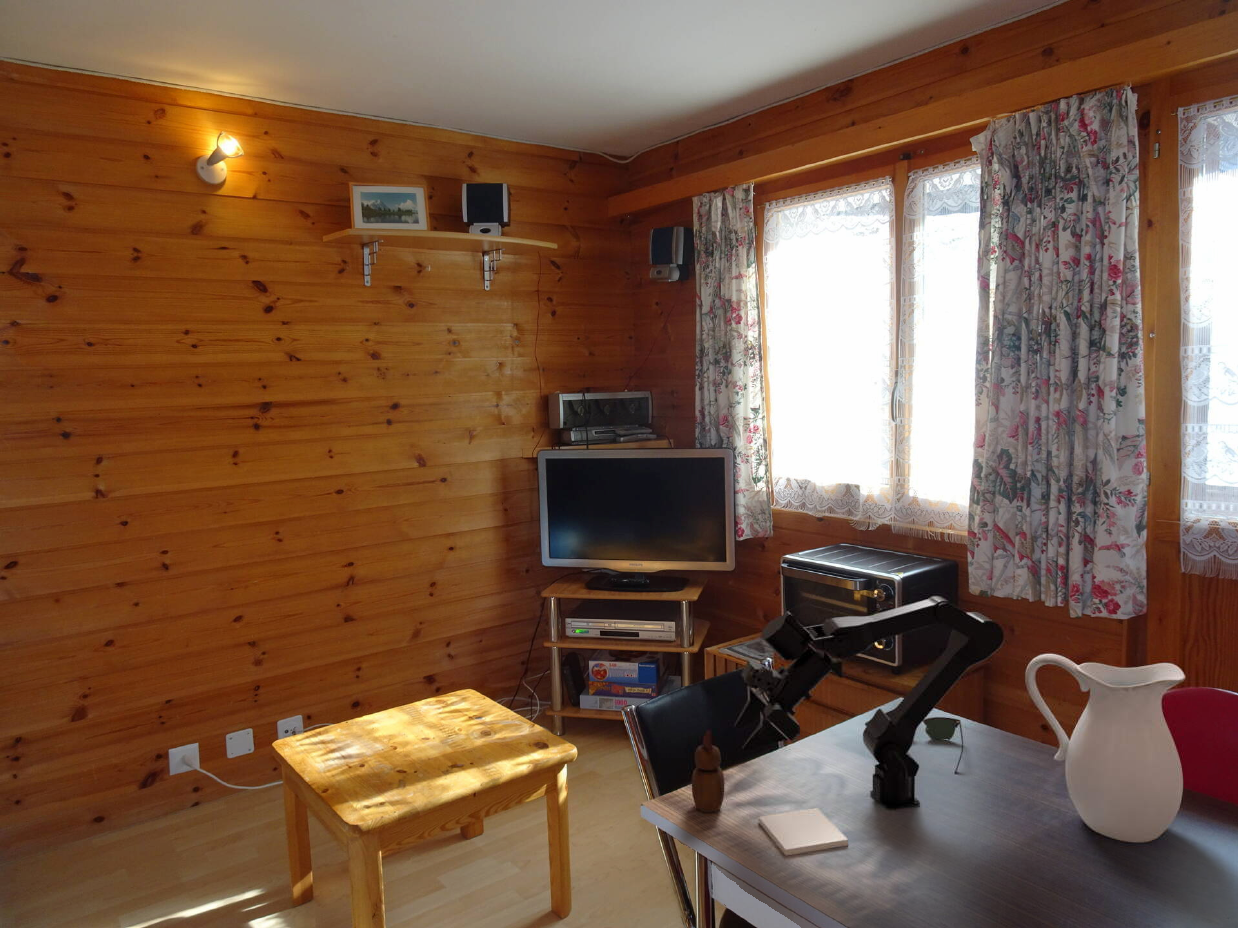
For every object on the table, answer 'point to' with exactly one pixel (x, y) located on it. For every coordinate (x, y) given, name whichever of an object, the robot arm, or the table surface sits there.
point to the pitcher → (1119, 748)
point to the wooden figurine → (708, 777)
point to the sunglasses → (942, 729)
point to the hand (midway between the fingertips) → (740, 738)
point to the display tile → (802, 831)
